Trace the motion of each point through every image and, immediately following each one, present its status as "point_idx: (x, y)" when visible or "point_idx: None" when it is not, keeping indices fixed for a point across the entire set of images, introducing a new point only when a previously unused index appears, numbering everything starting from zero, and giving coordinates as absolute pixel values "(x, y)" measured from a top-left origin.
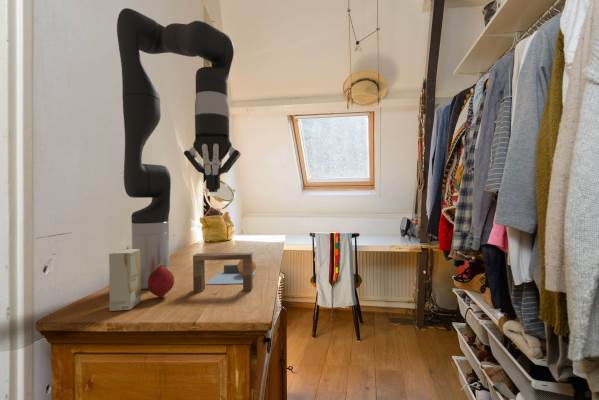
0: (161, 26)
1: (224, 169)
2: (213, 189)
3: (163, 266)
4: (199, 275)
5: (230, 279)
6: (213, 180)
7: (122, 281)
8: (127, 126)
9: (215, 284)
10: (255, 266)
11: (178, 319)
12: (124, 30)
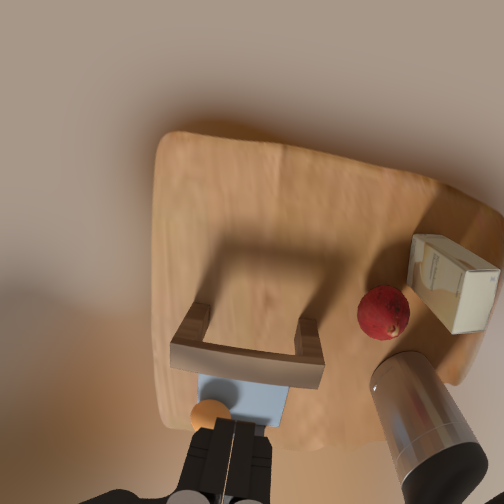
0: None
1: (111, 500)
2: (225, 422)
3: (388, 330)
4: (305, 336)
5: (245, 383)
6: (215, 465)
7: (448, 248)
8: None
9: None
10: (191, 412)
11: (317, 165)
12: None
